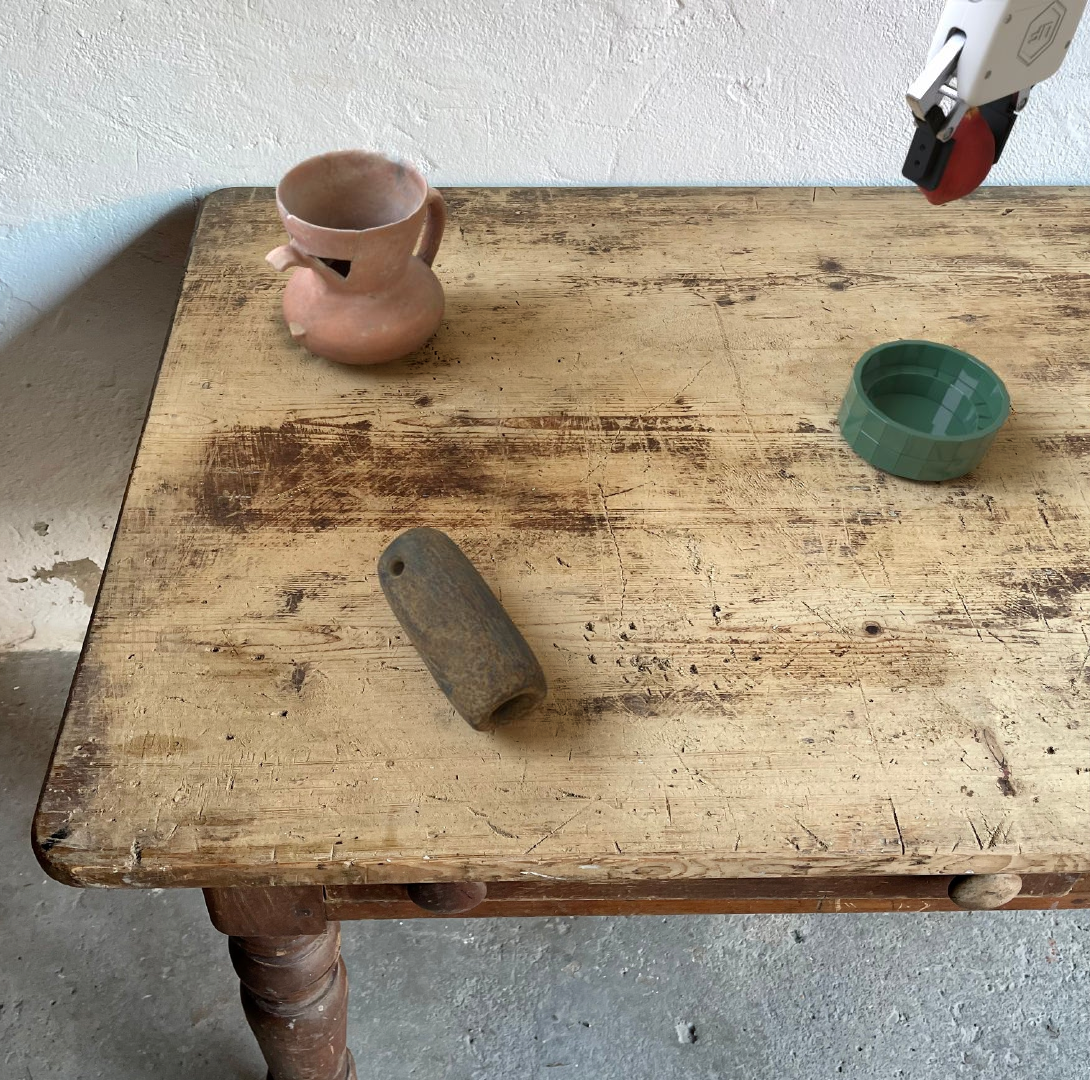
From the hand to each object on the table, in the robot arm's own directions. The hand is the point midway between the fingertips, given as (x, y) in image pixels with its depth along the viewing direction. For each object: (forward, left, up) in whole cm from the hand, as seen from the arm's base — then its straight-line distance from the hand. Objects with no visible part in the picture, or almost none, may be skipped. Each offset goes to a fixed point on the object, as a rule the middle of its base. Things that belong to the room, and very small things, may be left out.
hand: (949, 167), depth 77 cm
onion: (0, 0, -3) cm, 3 cm away
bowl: (+6, +9, -17) cm, 21 cm away
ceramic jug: (+37, -28, -17) cm, 50 cm away
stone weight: (+50, +7, -17) cm, 54 cm away
